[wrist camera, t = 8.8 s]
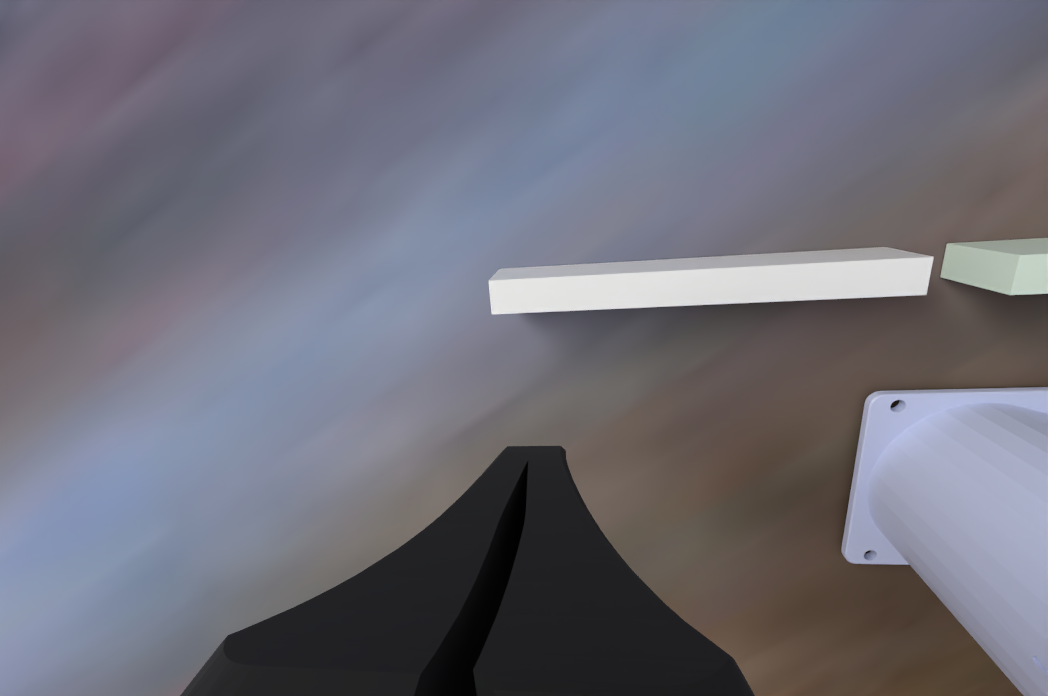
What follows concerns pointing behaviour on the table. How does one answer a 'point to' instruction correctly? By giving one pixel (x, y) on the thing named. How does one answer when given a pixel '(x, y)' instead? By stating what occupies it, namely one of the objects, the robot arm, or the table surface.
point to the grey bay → (712, 280)
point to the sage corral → (999, 265)
